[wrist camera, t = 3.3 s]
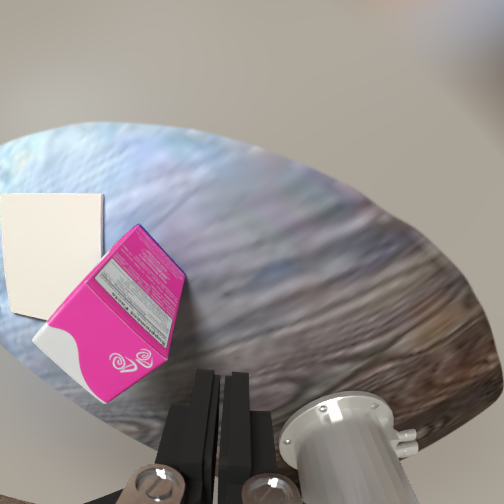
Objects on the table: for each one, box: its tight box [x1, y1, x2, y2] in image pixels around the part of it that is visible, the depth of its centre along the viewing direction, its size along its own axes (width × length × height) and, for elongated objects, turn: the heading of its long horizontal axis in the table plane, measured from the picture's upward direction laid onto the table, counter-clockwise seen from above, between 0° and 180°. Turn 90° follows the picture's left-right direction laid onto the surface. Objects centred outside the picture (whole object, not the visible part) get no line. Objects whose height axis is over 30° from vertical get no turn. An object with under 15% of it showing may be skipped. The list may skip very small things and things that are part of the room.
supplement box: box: [32, 224, 186, 404], centre depth 19 cm, size 6×6×11 cm
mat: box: [0, 193, 104, 320], centre depth 24 cm, size 12×12×1 cm
